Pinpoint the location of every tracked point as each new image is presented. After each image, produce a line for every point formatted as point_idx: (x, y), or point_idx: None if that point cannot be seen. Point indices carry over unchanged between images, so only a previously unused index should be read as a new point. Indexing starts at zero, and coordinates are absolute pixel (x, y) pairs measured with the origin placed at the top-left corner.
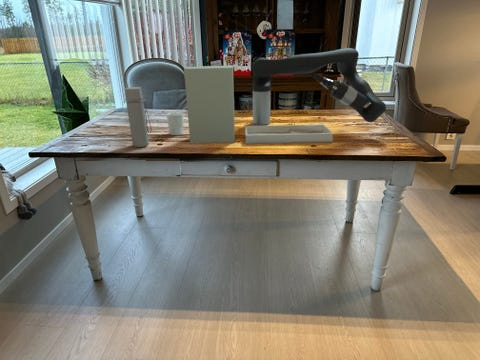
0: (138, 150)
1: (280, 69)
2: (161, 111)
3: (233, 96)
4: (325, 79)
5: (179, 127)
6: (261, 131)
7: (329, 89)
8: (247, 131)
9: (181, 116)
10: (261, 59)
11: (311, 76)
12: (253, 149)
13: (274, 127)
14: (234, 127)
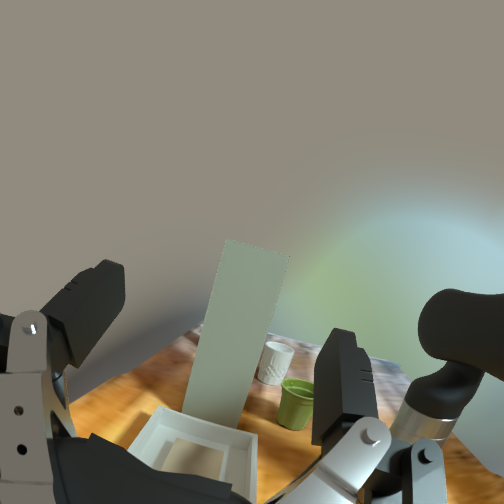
0: (187, 341)
1: (470, 339)
2: (403, 383)
3: (234, 324)
4: (18, 324)
5: (263, 368)
6: (212, 457)
7: None
8: (248, 447)
9: (272, 353)
10: (446, 289)
11: (314, 373)
12: (107, 414)
13: (247, 495)
14: (221, 403)
